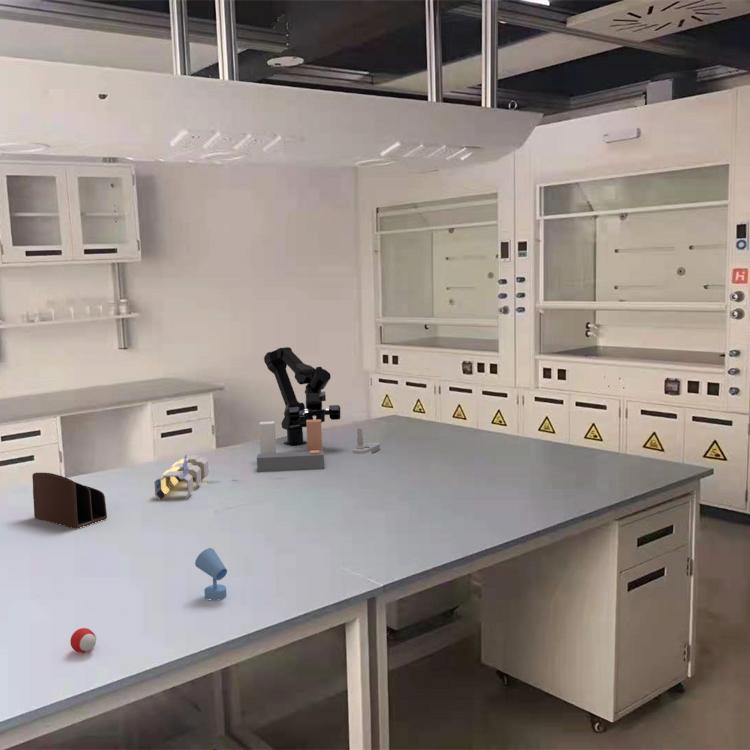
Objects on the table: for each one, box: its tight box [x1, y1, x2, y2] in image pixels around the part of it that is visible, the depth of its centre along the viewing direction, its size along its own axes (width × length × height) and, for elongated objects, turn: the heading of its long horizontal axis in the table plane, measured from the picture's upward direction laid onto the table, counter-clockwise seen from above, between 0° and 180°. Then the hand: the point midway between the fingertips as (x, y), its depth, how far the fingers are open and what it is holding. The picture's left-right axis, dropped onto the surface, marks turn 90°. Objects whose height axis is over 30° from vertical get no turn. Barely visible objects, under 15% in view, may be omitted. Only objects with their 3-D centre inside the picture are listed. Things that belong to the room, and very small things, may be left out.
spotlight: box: [194, 547, 228, 601], centre depth 167 cm, size 5×10×7 cm
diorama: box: [153, 454, 210, 501], centre depth 250 cm, size 25×10×13 cm, turn 178°
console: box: [256, 450, 325, 473], centre depth 271 cm, size 16×22×7 cm
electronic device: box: [352, 428, 381, 455], centre depth 290 cm, size 5×10×15 cm
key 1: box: [258, 420, 277, 454], centre depth 273 cm, size 4×5×14 cm
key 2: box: [306, 418, 323, 451], centre depth 275 cm, size 4×5×14 cm
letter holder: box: [32, 472, 108, 529], centre depth 222 cm, size 10×20×14 cm, turn 55°
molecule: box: [69, 627, 97, 653], centre depth 145 cm, size 5×5×4 cm
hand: (315, 432), depth 281 cm, fingers closed
